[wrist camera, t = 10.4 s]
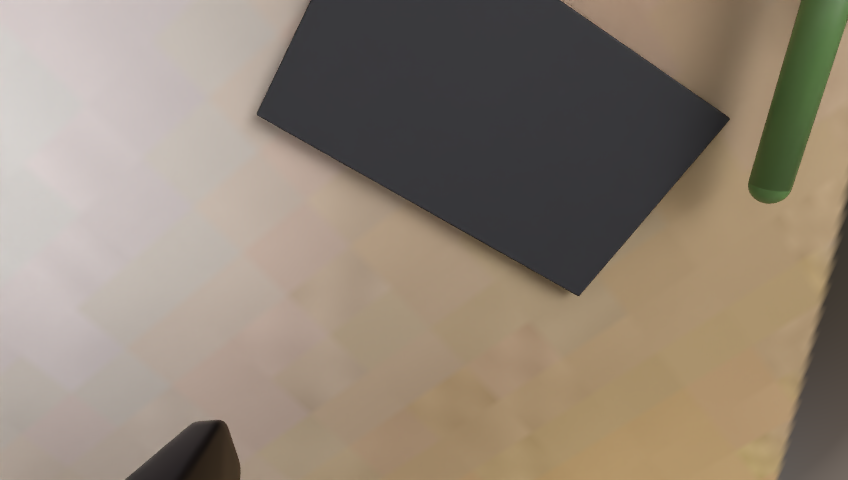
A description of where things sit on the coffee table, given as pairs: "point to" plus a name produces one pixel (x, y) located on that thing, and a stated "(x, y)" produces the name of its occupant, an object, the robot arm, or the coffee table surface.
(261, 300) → the coffee table surface
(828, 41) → the red rose
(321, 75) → the mat
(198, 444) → the robot arm
